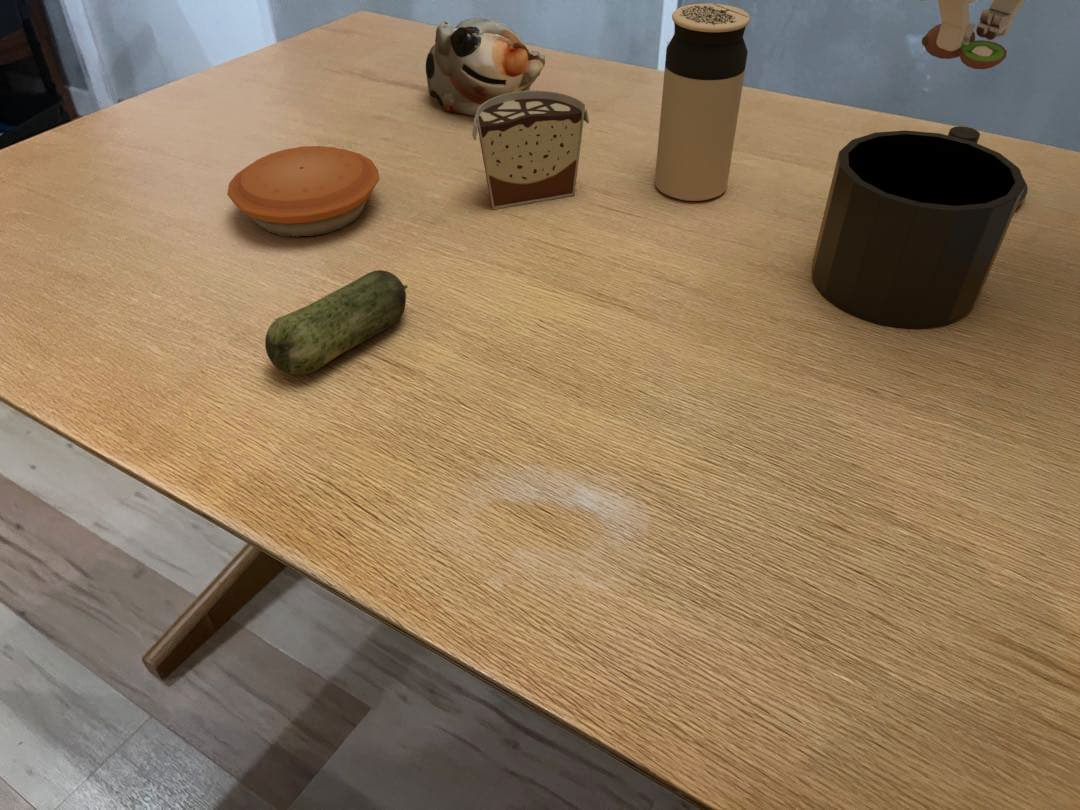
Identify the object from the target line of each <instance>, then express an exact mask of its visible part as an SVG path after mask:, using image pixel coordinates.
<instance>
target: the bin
mask: <svg viewBox="0 0 1080 810" xmlns="http://www.w3.org/2000/svg"><path fill="white" fill-rule="evenodd" d="M1021 171H1022V170H1021V168H1019V166H1017V165H1015V164H1014V163H1013V162H1012V161H1011V160H1010V159H1008V158H1007V157H1006V156H1004V155H1003V154H1002V153H1000V152H998V151H995V150H993V149H991V148H989V147H986V146H984V145H982V144H979V143H978V142H977V143H975V142H972V141H969V140H965V139H961V138H957V137H952V136H948V134H945V133H944V134H943V133H939V132H929V131H915V130H905V129H904V130H903V129H902V130H893V131H879V132H873V133H872V132H871V133H869V134H866V135H863V136H860V137H857V138H853V139H851V140H850V141H849V142H848V143H847V144H846V145H845V146H844V147H842V148H841V149H840V150H839V152H838V153H837V159H836V163H835V166H834V171H833V175H832V178H831V179H832V180H831V183H830V186H829V192H828V195H827V200H826V204H825V208H824V212H823V216H822V220H821V224H820V228H819V232H818V236H817V240H816V244H815V249H814V253H813V257H812V266H811V278H812V282H813V284H814V286H815V288H816V289H817V291H818V292H819V293H820V294H821V296H823V297H824V298H825V299H826V301H828V302H829V303H830V304H832V305H834V306H835V307H837V308H838V309H840V310H841V311H843V312H845V313H847V314H848V315H849V314H850V315H852V316H854V317H856V318H858V319H861V320H864V321H867V322H870V323H874V324H877V325H881V326H886V327H892V328H896V329H897V328H898V329H910V330H911V329H912V330H921V329H922V330H923V329H935V328H939V327H940V328H941V327H945V326H949V325H952V324H954V323H957V322H959V321H960V320H962V319H964V318H966V316H968V315H969V314H970V313H971V312H972V311H973V310H974V307H975V305H976V303H977V302H978V299H979V298H980V296H981V294H982V291H983V289H984V287H985V285H986V282H987V279H988V277H989V274H990V272H991V270H992V268H993V265H994V263H995V260H996V259H997V256H998V253H999V250H1000V248H1001V247H1002V243H1003V241H1004V239H1005V237H1006V234H1007V231H1008V229H1009V227H1010V224H1011V222H1012V219H1013V217H1014V215H1015V213H1016V209H1017V208H1018V207H1017V205H1018V203H1019V200H1020V198H1021V195H1022V193H1023V191H1024V188H1025V186H1026V184H1027V183H1026V184H1025V182H1026V180H1025V178H1024V176H1023V173H1022V172H1021ZM1024 180H1025V181H1024Z"/></svg>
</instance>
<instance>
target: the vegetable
mask: <svg viewBox="0 0 1080 810" xmlns="http://www.w3.org/2000/svg"><path fill="white" fill-rule="evenodd" d="M407 288H408V284H403V283H402V281H401V280H400V278H399V277H398V276H397V275H396V274H395V273H392V272H390V271H387V270H380V269H379V270H373V271H370V272H367V273H366V274H364V275H362V276H360V277H359V278H357V279H355V280H353V281H352V282H350V283H348V284H346V285H344V286H342V287H340V288H338V289H336V290H333V291H332V292H331V293H329V294H326V295H325V296H322V297H320V298H319V299H317V300H315V301H313V302H312V303H309V304H307V305H305V306H304V307H301V308H299V309H297V310H295V311H291V312H289V313H287V314H284V315H282V316H279V317H277V318H275V319H274V321H273V322H272V323H271V324H270V325H269V327H268V328H267V331H266V334H265V338H264V339H265V343H264V344H265V345H264V346H265V351H266V355H267V358H268V359H269V361H270V362H271V363H272V365H273V366H274V367H275V368H276V369H278V370H279V371H281V372H283V373H286V374H289V375H309V374H311V373H314V372H316V371H317V370H319V369H321V368H322V367H324V366H325V365H327V364H328V363H329V362H331V361H332V360H334V359H335V358H337V357H338V356H340V355H342V354H344V353H346V352H347V351H349V350H351V349H353V348H354V347H356V346H358V345H360V344H361V343H363V342H365V341H367V340H368V339H370V338H372V337H375V336H376V335H377V334H379V333H381V332H382V331H384V330H386V329H387V328H390V327H391V326H392V325H395V324H396V323H397V322H398V321H400V319H401V318H402V317H403V316H404V313H405V310H406V309H405V308H406V304H407V292H406V289H407Z"/></svg>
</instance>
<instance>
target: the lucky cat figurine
mask: <svg viewBox="0 0 1080 810" xmlns="http://www.w3.org/2000/svg"><path fill="white" fill-rule="evenodd" d="M426 56H427V57H426V58H425V59H426V60H425V74H426V75H425V76H426V82H427V89H428V95H429V96H430V97H431V98H432V99H436V100H437V102H438V103H439V105H440V106H441V108H442V109H443V110H444V112H448V113H449V112H450V113H454V114H460V115H465V116H470V117H471V116H472V117H475V115H476V114H477V110H478V108H479V107H480V106H481V105H482V104H483V103H484V102H486V101H488V100H489V99H492V98H494V97H497V96H500V95H503V94H507V93H512V92H520V91H531V86H532V85H533V84H534V82H535V81H537V79H538V77H539V76H541V72H542V70H543V69H544V68H545V65H546V55H545V54H541V53H540V51H537V50H535V51H530V50H529V49H528V47H527V46H526V45H525V42H524V40H523V38H522V36H520V35H519V34H518V33H517V32H516V31H515V30H514V29H513V28H510V27H508V26H507V24H505V23H503V22H502V21H499V20H497V19H486V18H484V17H483V18H482V17H478V18H477V17H475V18H469V19H464V20H462V21H460V22H459V23H458V24H457V25H456V26H455V27H453V26H451V25H450V24H449V23H448V22H447V21H442V22H441V23H439V26H437V27H436V30H435V39H434V44H433V45H432V46H431V47H430V49H429V52H428V53H427V55H426Z"/></svg>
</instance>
